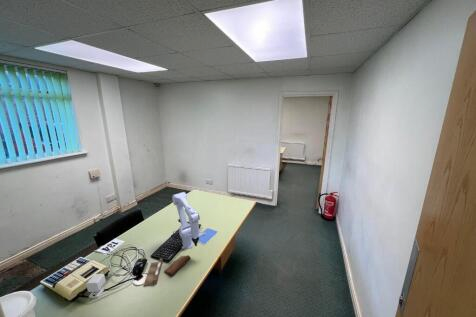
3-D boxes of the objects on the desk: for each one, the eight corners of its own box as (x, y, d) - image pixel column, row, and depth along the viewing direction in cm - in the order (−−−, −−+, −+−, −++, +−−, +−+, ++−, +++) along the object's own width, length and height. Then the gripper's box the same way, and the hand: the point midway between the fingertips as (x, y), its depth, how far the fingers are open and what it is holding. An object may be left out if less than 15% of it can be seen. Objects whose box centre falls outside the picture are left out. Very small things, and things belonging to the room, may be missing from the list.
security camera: (107, 286, 115) (104, 273, 112) (99, 297, 108) (95, 284, 105) (96, 287, 114) (93, 274, 112) (88, 298, 108) (84, 284, 105)
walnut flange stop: (151, 263, 132) (150, 259, 131) (162, 262, 133) (162, 257, 132) (143, 286, 115) (142, 281, 114) (156, 284, 116) (155, 279, 115)
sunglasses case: (182, 254, 140) (184, 250, 137) (188, 261, 138) (191, 256, 135) (162, 272, 124) (165, 267, 121) (169, 280, 123) (172, 275, 120)
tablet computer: (205, 245, 150) (204, 244, 150) (193, 240, 156) (193, 239, 156) (218, 232, 166) (218, 231, 166) (207, 228, 173) (207, 227, 172)
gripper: (183, 233, 128) (185, 250, 131) (205, 231, 130) (206, 247, 133) (184, 227, 134) (186, 243, 138) (204, 225, 137) (205, 241, 140)
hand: (196, 245), depth 136 cm, fingers closed
